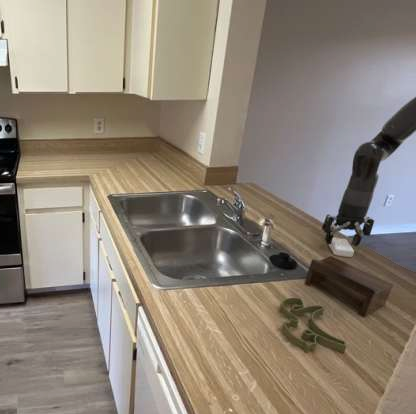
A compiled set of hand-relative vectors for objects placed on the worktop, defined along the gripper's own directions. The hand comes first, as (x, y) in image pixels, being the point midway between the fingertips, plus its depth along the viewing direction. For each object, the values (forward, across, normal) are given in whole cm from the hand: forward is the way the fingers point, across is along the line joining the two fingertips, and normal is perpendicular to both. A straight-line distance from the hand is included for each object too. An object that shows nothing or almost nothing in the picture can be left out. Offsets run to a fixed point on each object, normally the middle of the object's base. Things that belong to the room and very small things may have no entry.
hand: (341, 244), depth 115 cm
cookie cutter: (+3, -28, -40) cm, 49 cm away
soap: (+3, 0, 0) cm, 3 cm away
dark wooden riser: (+3, -12, -26) cm, 28 cm away
